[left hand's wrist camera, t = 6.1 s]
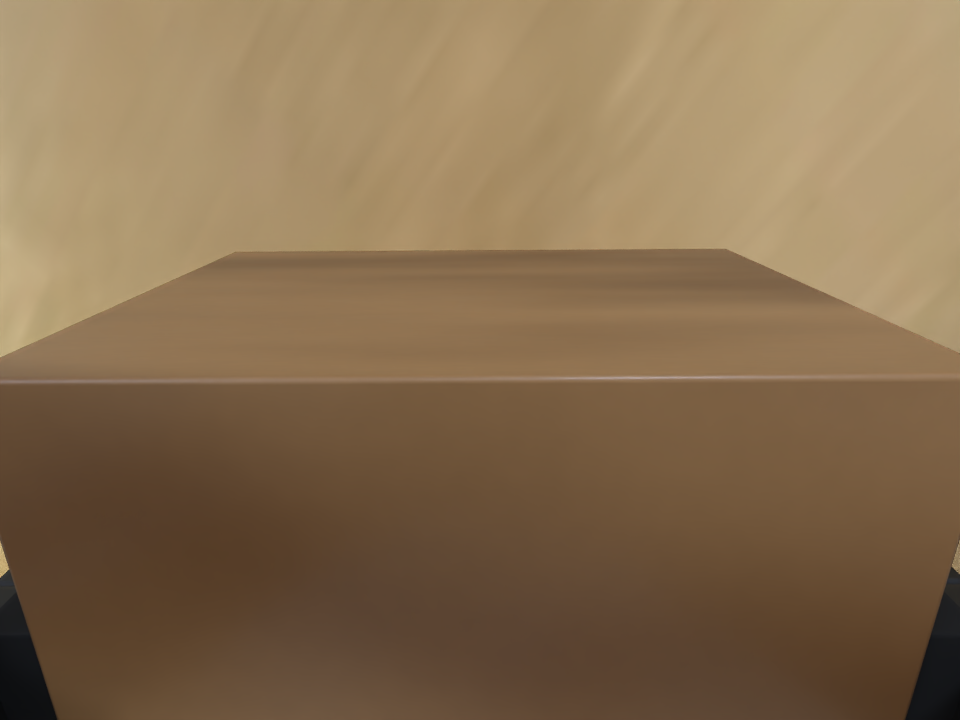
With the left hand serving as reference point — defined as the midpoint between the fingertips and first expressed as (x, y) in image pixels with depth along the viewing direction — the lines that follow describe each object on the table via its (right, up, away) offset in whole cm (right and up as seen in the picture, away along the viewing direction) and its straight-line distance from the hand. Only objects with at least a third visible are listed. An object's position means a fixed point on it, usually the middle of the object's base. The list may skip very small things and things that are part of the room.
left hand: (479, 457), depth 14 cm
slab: (0, -20, +8) cm, 21 cm away
